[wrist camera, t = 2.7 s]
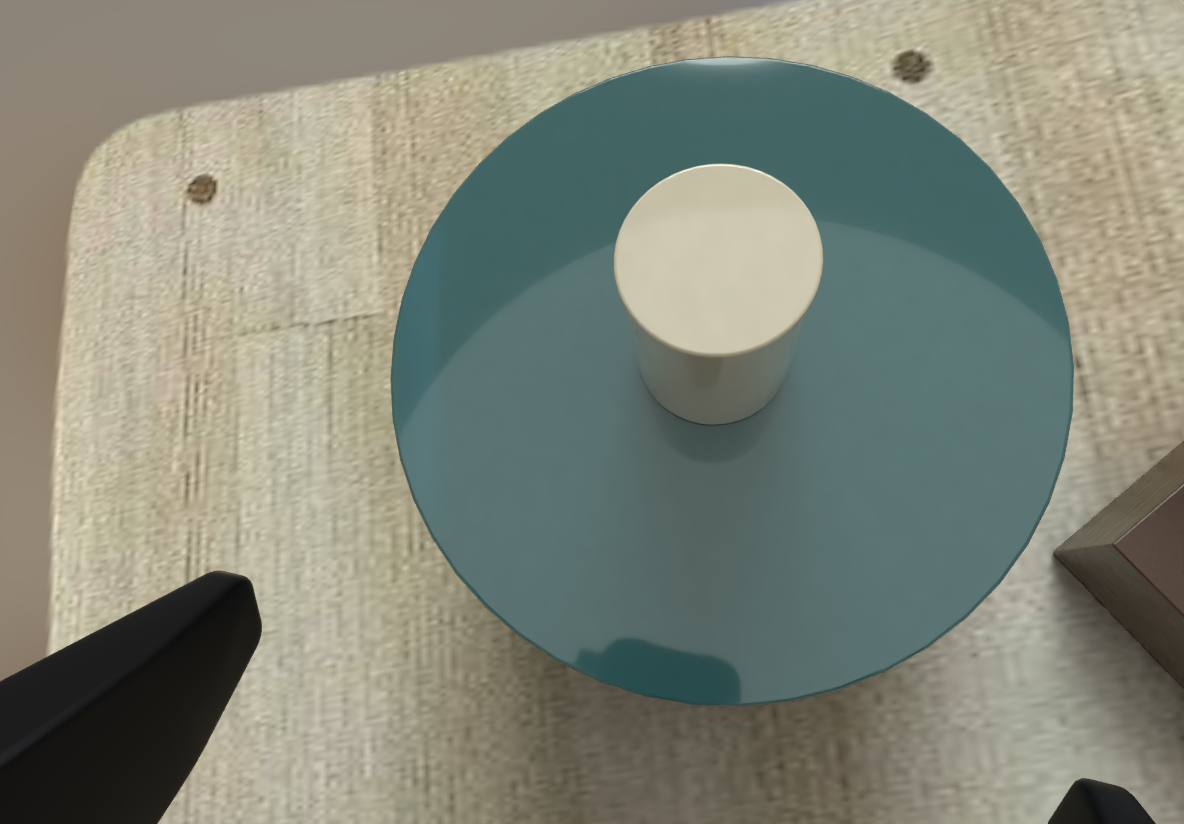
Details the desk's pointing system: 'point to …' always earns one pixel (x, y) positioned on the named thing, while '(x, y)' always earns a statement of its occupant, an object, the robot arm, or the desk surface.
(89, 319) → the desk surface
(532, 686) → the desk surface
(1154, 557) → the board
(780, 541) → the lid
